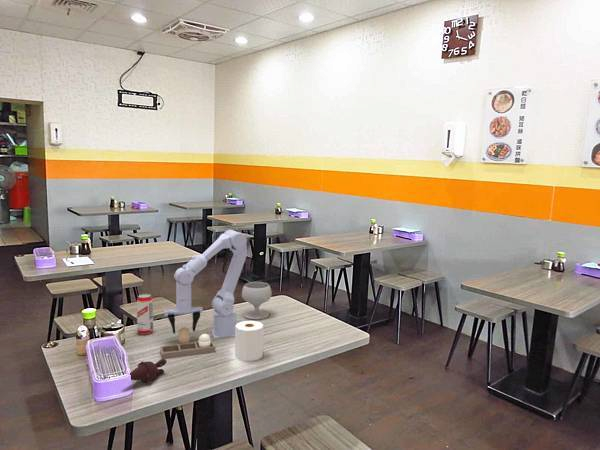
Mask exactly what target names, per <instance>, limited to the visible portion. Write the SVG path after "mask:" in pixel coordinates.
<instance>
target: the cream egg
mask: <svg viewBox="0 0 600 450" xmlns="http://www.w3.org/2000/svg"><path fill="white" fill-rule="evenodd" d="M210 340H211V337H210V335H209V334H207V333H202V334H201V335H200V336H199V337H198V342H199V348H206V347H210Z"/></svg>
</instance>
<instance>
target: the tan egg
mask: <svg viewBox="0 0 600 450" xmlns="http://www.w3.org/2000/svg"><path fill="white" fill-rule="evenodd" d="M177 335H178V343H179V344H185V343H190V341H191V330H190V329H189V328H188V327H186V326H182V327H180V328H179V330H178V334H177Z"/></svg>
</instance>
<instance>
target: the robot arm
mask: <svg viewBox="0 0 600 450" xmlns="http://www.w3.org/2000/svg"><path fill="white" fill-rule="evenodd" d="M247 243H248V240H247V238H246V235H245V234H244V233H243V232H240V231H236V230H233V229H227V230H225V231H224V232H223V233H221V234H220V235H219V237H218V238H217V239H216V240H215V241H214V242H213V243H212V244H211V245H210V246H209V247H208V248H207V249H206V250H205V251H204V252H203V253H202V254H196V255H193V256H192V257H191V259H190V260H189V261H188V262H187V263H186V264H182V267H180V268H177V270H176V271H175V273H174V274H173V278H174V279H175V281H176V282H175V283H176V284H175V285H176V289H175V291H176V293H175V295H176V296H175V298H176V299H175V300H176V301H175V305H176V307H175V308H170V309H164V316H165V317H167V319H168V321H169V323H170V325H171V330H172V334H176V325H175V324H176V318H175V316H177V315H188V314H189V315H190V314H192V332H196V329H197V324H198V321H199V319H200V318H201V314H203V312H204V311H203V306H192V282H193V281H194V279H195V278H194V277H195V276H196V275H198V274H199V273H200V272H201V271H202V270H203V269H204V268H205V267H207V264H208V261H209V260H211V258H213V257H214V256H215V255H217V254H218V253H219V252H220V251H221V250H223V249H230V250H231V252H232V253H233V255H232V257H231V260H230V264H229V266H228V269H227V272H226V274H225V277H224V280H223V282H222V286H221V289H220V290H218V291H217V292H216V295H215V296H214V297H213V299H211V300H212V301H211V307H212V309H214V310H213V330H211V334H212V335H213V337H214V338H215V339H218V338H219V339H220V338H226V337H227V338H228V337H235V326H236V325H237V323H238V316H237V313H236V312H233V311H234V303H235V295H234V292H235V291H236V287H237V285H238V281H239V278H240V276H241V274H242V270H243V267H244V264H245V262H246V259H247V256H248V248H247V247H248V246H247Z"/></svg>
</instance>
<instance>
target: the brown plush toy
mask: <svg viewBox="0 0 600 450" xmlns="http://www.w3.org/2000/svg"><path fill="white" fill-rule="evenodd" d="M167 363H168V361H167V359H159V360H158V361H157V362H155V363H154V362H153V361H141V362H139V363H138V364H137V367H136V368H134V369H133V370H132V371H131V372H129V373H130V375H131V380H130V381H140V382H141V383H143V384H145V385H147V384H148V383H149V382H150V381H153V380H155V378H156V376H161V375H162V374H164V373H165V370H164V369H163V368H161V367H163V366H165V365H166V364H167Z"/></svg>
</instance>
